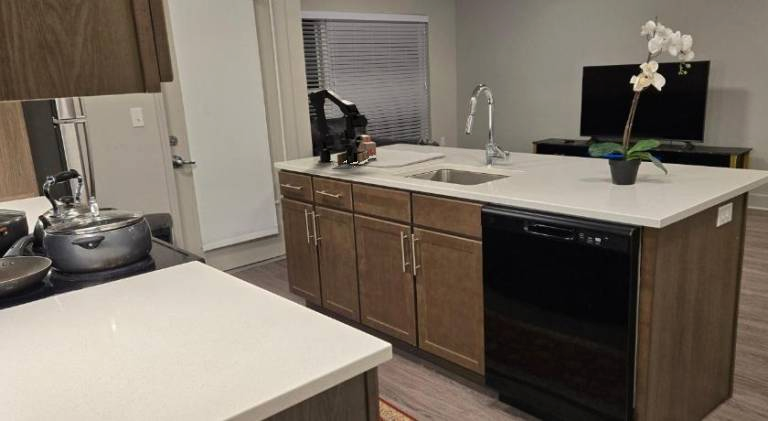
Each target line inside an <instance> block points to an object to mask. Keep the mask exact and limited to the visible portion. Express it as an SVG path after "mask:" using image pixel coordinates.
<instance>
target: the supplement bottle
mask: <svg viewBox="0 0 768 421" xmlns="http://www.w3.org/2000/svg"><path fill="white" fill-rule="evenodd" d="M352 144H354V145H353V149H352V154H351V157H349V156H348V154H347V151H346V150H345V152H346V159H347V163H346V165H348V164H350V163H353V162H357V161H358V160H357V155H358V148H357V147H356V142H353V143H352Z"/></svg>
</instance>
